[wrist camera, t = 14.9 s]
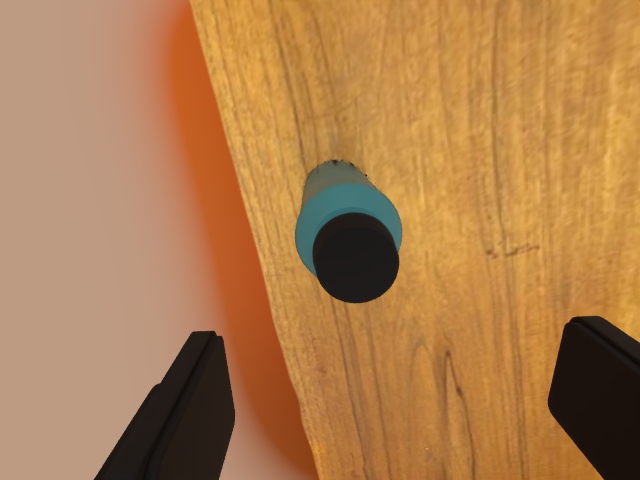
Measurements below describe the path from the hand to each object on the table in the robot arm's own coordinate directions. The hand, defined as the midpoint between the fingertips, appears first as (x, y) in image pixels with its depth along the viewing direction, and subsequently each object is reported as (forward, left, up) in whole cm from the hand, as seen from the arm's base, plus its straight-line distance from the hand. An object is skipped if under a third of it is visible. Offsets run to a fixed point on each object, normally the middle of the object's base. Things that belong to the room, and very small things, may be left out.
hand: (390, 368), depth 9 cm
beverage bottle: (0, 0, -26) cm, 26 cm away
